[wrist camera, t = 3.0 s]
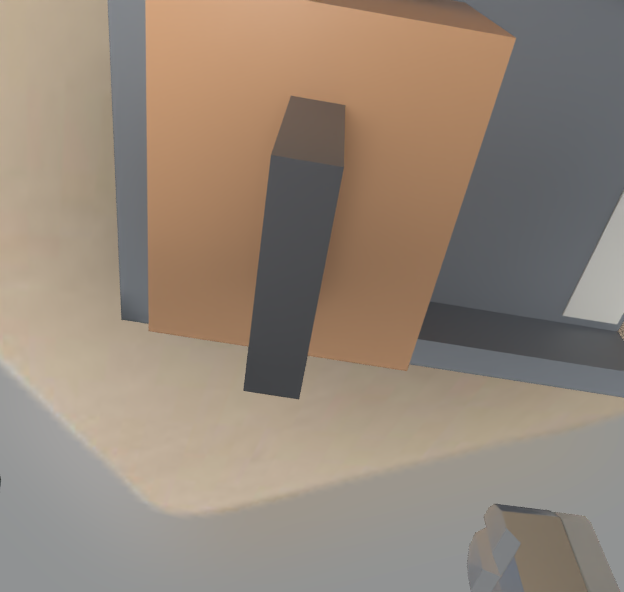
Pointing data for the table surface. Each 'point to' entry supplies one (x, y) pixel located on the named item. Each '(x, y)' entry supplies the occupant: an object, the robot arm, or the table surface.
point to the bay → (482, 202)
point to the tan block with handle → (309, 171)
